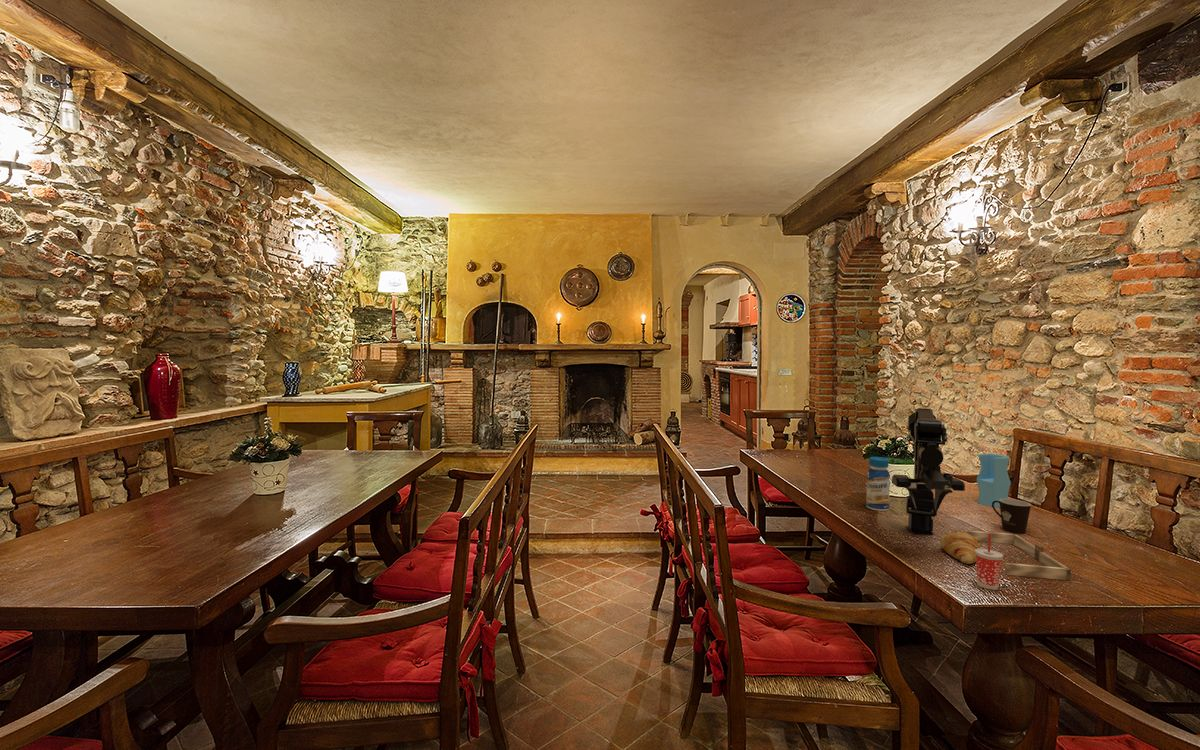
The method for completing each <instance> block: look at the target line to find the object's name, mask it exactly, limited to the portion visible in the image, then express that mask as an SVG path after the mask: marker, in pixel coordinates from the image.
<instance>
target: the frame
mask: <svg viewBox="0 0 1200 750" xmlns="http://www.w3.org/2000/svg"><path fill="white" fill-rule="evenodd" d="M963 532H966V533H968V534H970V535H971V536H973V537H974V538H975V539H976V540H977V541H978V542H980V543H981V542H984V543H988V535H989V534H991V540H990V543H994V544H1006V545H1009V544H1010V545H1014V546H1016V547H1017V548H1018V549H1020V550H1022V551H1023V552H1025V553H1026V554H1028V555H1029V556H1030V557H1031V558H1032V559H1034V560H1036V561H1038V562H1039V563H1040V564H1042V565H1034V564H1023V563H1012V562H1005V564H1004V565H1005V566H1004V567H1005V568H1004V569H1005V570H1004V573H1005V575H1006V576H1007V575H1008V576H1017V577H1018V576H1019V577H1029V578H1037V579H1038V578H1039V579H1051V580H1060V581H1061V580H1062V581H1071V577H1072V574H1071V573H1072V570H1071V568H1069V567H1068V566H1066V565H1064V564H1063V563H1061V562H1059V561H1058V560H1056V559H1055V558H1053V557H1052V556H1051V555H1049V554H1047V553H1046V552H1045V551H1044V549H1045V548H1044V546H1042V545H1041V544H1037V543H1036V544H1032V543H1031V542H1029V541H1027V540H1026V539H1024V538H1023V537H1021V536H1020V535H1019V534H1015V533H1007V532H1006V533H1005V532H1003V533H1002V532H991V531H978V530H963Z"/></svg>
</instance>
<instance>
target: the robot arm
mask: <svg viewBox="0 0 1200 750" xmlns="http://www.w3.org/2000/svg"><path fill="white" fill-rule="evenodd" d="M907 431H909V437H910V438H911V440H912V442H913V444H914V457H913V459H914V464H913V465H914V466H913V467H914V468H913V469H914V470H913V472H914V473H913V474H914V475H913V476H914V477H913V478H910V477H909V476H907V474H906V475H905V474H893V475H892V476H891V483H892V485H894V486H895V487H897V488H905V490H907V491H908V495H906V499H905V500H906V502H905V512H906V514H908V517H907V518H908V520H907V521H908V523H907V525H906V528H907V529H908V530H909V532H911V534H919V535H920V534H923V535H934V532H933V531H934V519H933V518H932V517H934V518H935V517H937V515H938V510H939V509H940V506H941V505H942V502H943V501H944V499H945V497H946V496H947V495H949V494H950V493H951V494H952V493H953V492H954V491H956V492H964V491H965V489H966V484H965V482H964V481H962V480H961V479H960V478H957V477H954V476H953V474H952V473H949V472H947V473H946V472H945V473H942V471H941V464H942V463H943V462H944V454H943V452H942V451H941V449H940V445H941V446H945V445H946V443H947V441H948V434H947V427H946V426H945V424H942V420H940V419H937V417H936V415H934V412H933V409H931V408H924V407H922V408H921V407H920V408H919V407H918V408H915V410H914V412H912V413H911V414H910V415H908V418H907ZM933 490H934V492H933Z"/></svg>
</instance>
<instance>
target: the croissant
mask: <svg viewBox="0 0 1200 750" xmlns="http://www.w3.org/2000/svg"><path fill="white" fill-rule="evenodd" d="M939 542H940V546H941V548H942V549H943V551H945V553H947V554H949V556H952V557H953V558H954V559H957V560H958V561H960V562H962V564H966V565H967V564H968V565H970V564H974V563H976V554H975V549H979V548H981V546H980V543H979V541H977V540H976V539H975V538H974V537H973V536H971V535H970V534H968V533H966V532H964V531H951V532H949V533H947V534H946V535H944V536H943V537H942V539H941V540H940V541H939Z"/></svg>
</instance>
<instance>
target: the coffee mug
mask: <svg viewBox="0 0 1200 750" xmlns="http://www.w3.org/2000/svg"><path fill="white" fill-rule="evenodd" d="M995 502H998V503H999V504H1000V507H999V510H1000V513H999V511H997V510H996V509H997V508H994V503H995ZM1031 507H1032V504H1031V503H1029V502H1028V501H1024V500H1021V499H1020V500H1019V499H1015V498H1014V499H1012V498H1008V499H1000V500H999V501H993V502H992V507H991V508H992V509H993V511H994V512H995V514H996V515H997V516H999V518H1000V520H1001V522H1000V523H1001V529H1002V531H1005V532H1006V533H1009V534H1017V535H1024V534H1026V533H1027V527H1028V523H1029V522H1028V521H1029V516H1030V512H1031Z"/></svg>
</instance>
